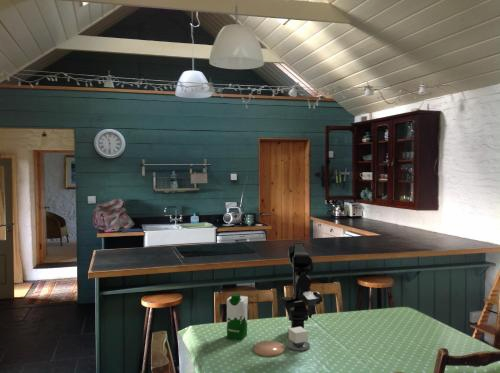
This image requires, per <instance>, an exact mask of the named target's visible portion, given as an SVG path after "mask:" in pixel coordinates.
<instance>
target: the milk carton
mask: <svg viewBox="0 0 500 373" xmlns="http://www.w3.org/2000/svg"><path fill="white" fill-rule="evenodd" d="M248 299H249V296H245V295H241V294H240V293H232V294H231V296H229V297H228V298H227V299H226V339H227V340H233V341H237V342H242V341H243V340H244V339H246V337H247V336H248V304H249V302H248V301H249V300H248Z"/></svg>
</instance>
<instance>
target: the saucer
mask: <svg viewBox="0 0 500 373" xmlns="http://www.w3.org/2000/svg"><path fill="white" fill-rule="evenodd" d="M285 349H286V348H285V345H284V344H282V343H281V342H278V341H275V340H262V341H258V342H256V343H255V344H254V345H253V352H254V353H255V354H257V355H259V356H262V357H269V358H271V357H272V358H273V357H279V356H281V355H283V354H284V353H285Z"/></svg>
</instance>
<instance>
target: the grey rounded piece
mask: <svg viewBox="0 0 500 373" xmlns="http://www.w3.org/2000/svg"><path fill="white" fill-rule="evenodd" d="M285 345H286V349H288V350H289V351H294V352H307V351H309V350H310V348H311V343H310V342H308V341H306V342H301V343H294V342H293V341H292V340H290V339H289V340H288V341H287V342H286V344H285Z"/></svg>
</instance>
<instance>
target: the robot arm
mask: <svg viewBox="0 0 500 373" xmlns="http://www.w3.org/2000/svg"><path fill="white" fill-rule="evenodd" d="M287 257H288V258H287V259H289V264H290V265H291V267H292V284H293V285H292V290H293V291H292V298H291V297H289V296H282V297H280V298H279V305H281V306H282V307H284V309H285V310H286V313H287V315H288V321H290V326H291V327H290V328H295V327H302V328H304V329H305V322H307V321H308V320H309V319H311V318H312V316H313V314H314V312H315V308H316V307H317V306H318V305H319V304H321V303H323V302H324V301H323V300H324V299H323V296H322V294H320V292H319V291H311V286H312V281H311V278H310V276H309V273H312V272H313V270H314V264H313V259H312V257H311V256H310V254H309V253H308V252H307V248H306V247H305V245H304V242H293V243H292V245H291V246H289V247H288V250H287ZM288 332H289V329H288Z"/></svg>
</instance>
